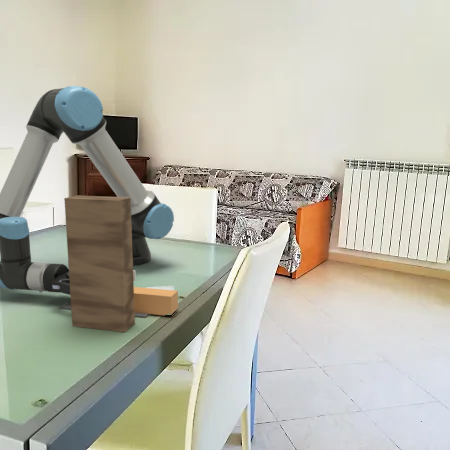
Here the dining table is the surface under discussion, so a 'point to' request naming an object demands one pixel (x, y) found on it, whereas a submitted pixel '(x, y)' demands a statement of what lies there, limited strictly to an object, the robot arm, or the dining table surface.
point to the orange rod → (155, 301)
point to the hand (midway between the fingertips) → (125, 282)
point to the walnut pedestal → (100, 262)
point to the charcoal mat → (68, 306)
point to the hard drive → (163, 287)
